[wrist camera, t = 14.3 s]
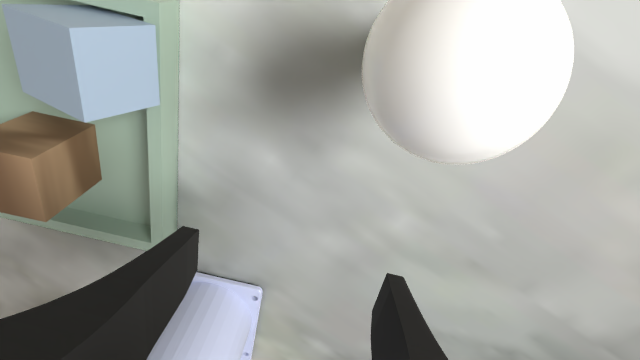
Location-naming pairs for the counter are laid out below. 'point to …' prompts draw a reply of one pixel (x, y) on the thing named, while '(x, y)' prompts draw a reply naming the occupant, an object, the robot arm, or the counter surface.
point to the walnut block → (45, 164)
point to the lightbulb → (466, 74)
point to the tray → (118, 140)
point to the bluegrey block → (84, 58)
